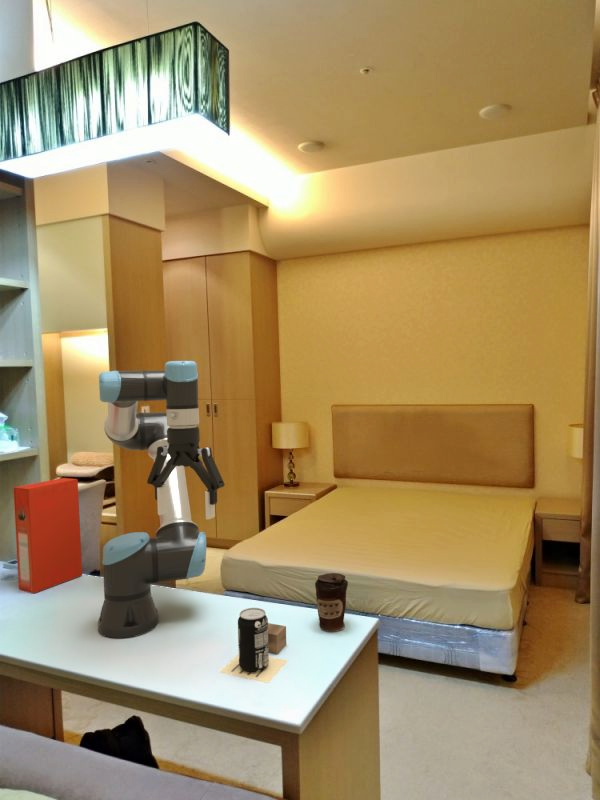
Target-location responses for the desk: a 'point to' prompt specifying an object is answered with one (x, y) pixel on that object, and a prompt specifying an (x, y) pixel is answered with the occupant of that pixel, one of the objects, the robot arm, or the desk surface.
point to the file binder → (47, 533)
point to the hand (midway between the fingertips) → (186, 515)
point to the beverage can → (253, 640)
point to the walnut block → (276, 638)
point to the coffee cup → (331, 601)
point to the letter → (262, 676)
